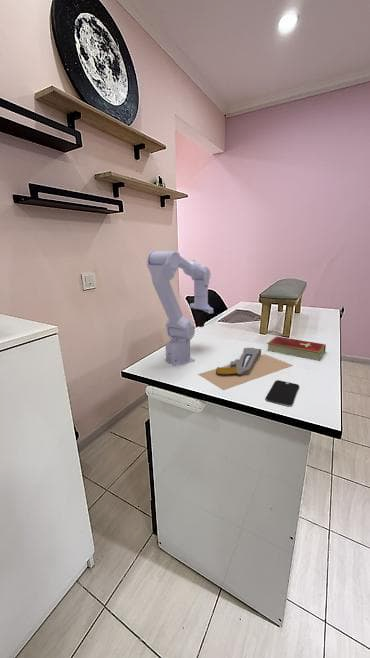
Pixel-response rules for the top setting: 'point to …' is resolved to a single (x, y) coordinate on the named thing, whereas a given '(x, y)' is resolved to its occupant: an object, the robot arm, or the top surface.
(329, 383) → the top surface
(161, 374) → the top surface
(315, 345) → the hardcover book
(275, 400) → the smartphone
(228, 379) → the mat
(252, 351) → the gun
